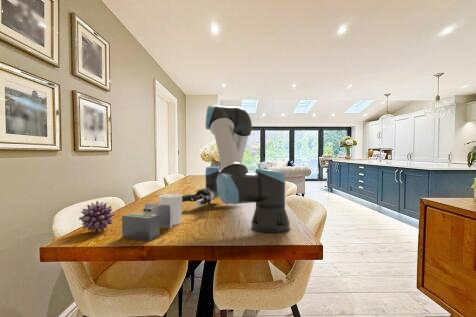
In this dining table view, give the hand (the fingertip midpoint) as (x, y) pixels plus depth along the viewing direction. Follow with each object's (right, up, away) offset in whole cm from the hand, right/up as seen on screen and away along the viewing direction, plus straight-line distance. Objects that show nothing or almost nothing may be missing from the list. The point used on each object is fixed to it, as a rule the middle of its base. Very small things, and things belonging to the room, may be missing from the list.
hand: (183, 203), depth 114 cm
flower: (-28, -7, -21) cm, 36 cm away
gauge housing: (-9, -7, -27) cm, 29 cm away
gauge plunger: (-7, -6, -21) cm, 23 cm away
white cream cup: (-3, -7, -10) cm, 12 cm away
